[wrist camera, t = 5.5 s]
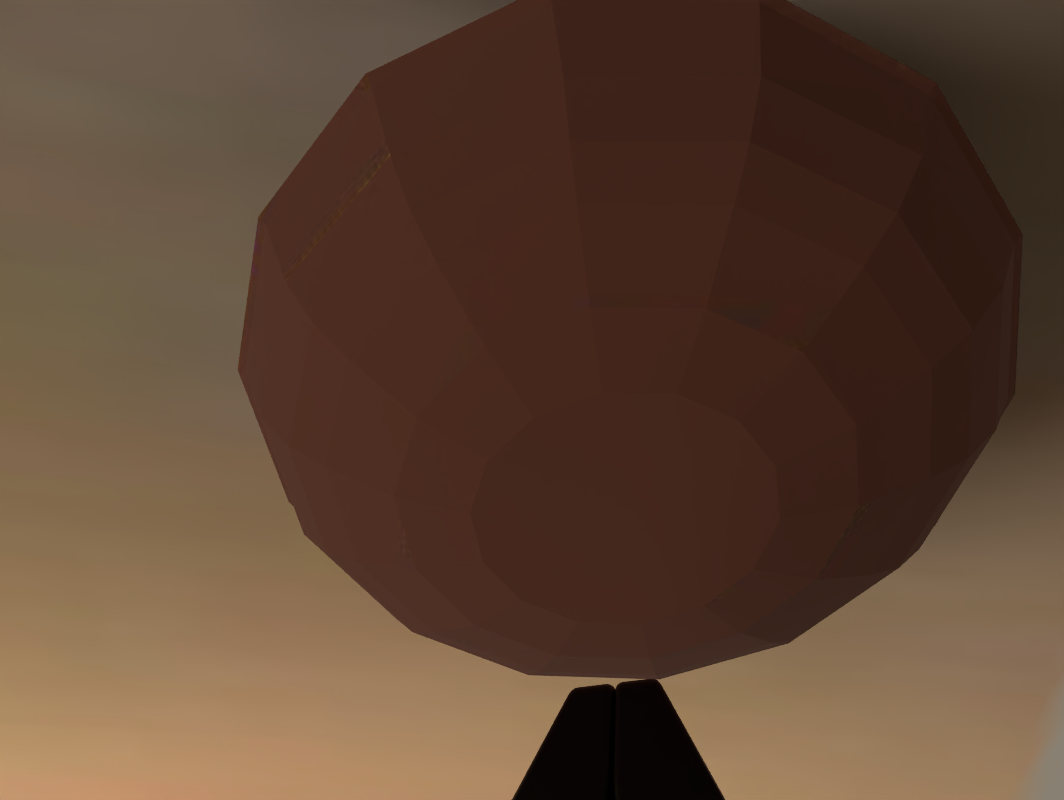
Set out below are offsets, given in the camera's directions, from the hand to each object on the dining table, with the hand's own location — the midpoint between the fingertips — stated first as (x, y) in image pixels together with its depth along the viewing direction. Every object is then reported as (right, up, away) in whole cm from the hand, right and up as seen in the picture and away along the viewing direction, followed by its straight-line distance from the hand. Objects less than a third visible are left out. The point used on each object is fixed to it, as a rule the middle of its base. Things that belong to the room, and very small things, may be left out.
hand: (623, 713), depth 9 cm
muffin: (+1, +7, +11) cm, 13 cm away
